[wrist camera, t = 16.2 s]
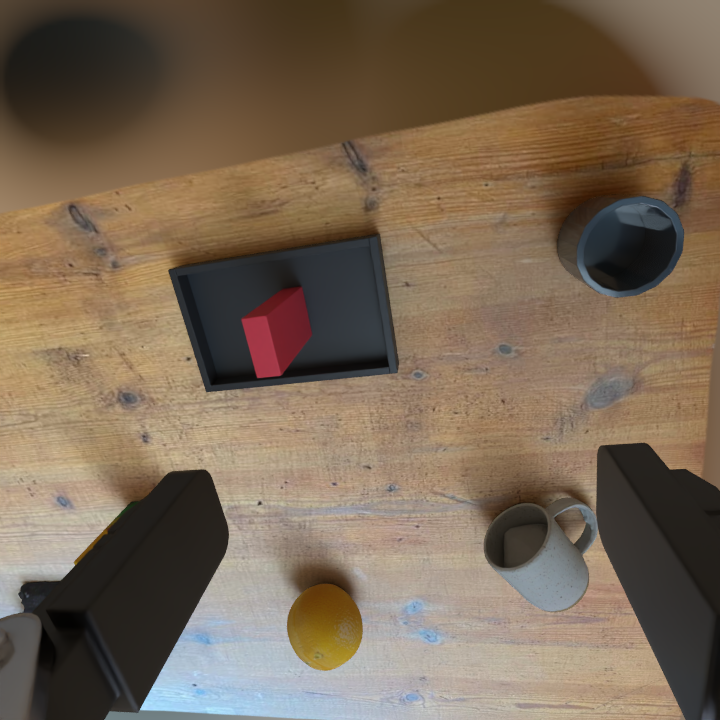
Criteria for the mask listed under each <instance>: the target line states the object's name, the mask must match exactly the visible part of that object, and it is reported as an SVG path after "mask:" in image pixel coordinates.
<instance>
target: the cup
mask: <svg viewBox="0 0 720 720" xmlns="http://www.w3.org/2000/svg"><path fill="white" fill-rule="evenodd" d="M683 241H684V229H683V227H682V224H681V222H680V219H679V217H678V214H677V213H676V212H675V211H674V210H673V209H672V208H670V207H669V206H668V205H667V204H666V203H665V202H663V201H662V200H658V199H654V198H650V197H646V196H637V195H621V194H612V195H603V196H598V197H595V198H592V199H590V200H588V201H585V202H584V203H582V204H581V205H579V206H578V207H577V208H575V209H574V210H573V211H572V212H571V213H570V215H569V216H568V217H567V218H566V220H565V222H564V223H563V225H562V227H561V229H560V232H559V236H558V242H557V249H558V255H559V258H560V261H561V263H562V265H563V266H564V268H565V269H566V270H567V271H568V272H569V273H570V274H571V275H573V276H574V277H575V278H576V279H578V280H579V281H581V282H582V283H584V284H585V285H587V286H588V287H590V288H592V289H593V290H595V291H596V292H598V293H601V294H604V295H608V296H612V297H617V298H618V297H627V296H636V295H639V294H641V293H643V292H645V291H647V290H649V289H652V288H654V287H656V286H657V285H658V284H659V283H661V282H662V281H663V280H664V279H665V278H666V277H667V276H668V275H669V274H670V273H671V272H672V270H673V269H674V268H675V266H676V264H677V262H678V260H679V258H680V256H681V254H682V251H683Z"/></svg>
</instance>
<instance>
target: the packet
mask: <svg viewBox="0 0 720 720" xmlns="http://www.w3.org/2000/svg"><path fill="white" fill-rule="evenodd" d="M241 320H242V324H243V327H244V331H245V335H246V339H247V342H248V346H249V350H250V353H251V357H252V361H253V365H254V368H255V372H256V376H257V378H263V377H273V376H281V375H282V374H283V372H284V371H285V370H286V368H287V367H288V366H289V365H290V363H291V362H292V361H293V359H294V358H295V357H296V355H297V354H298V353H299V352H300V350H301V349H302V348H303V346H304V345H305V344H306V342H307V341H308V340H309V338H310V337H311V336H312V331H311V326H310V321H309V317H308V312H307V308H306V303H305V298H304V294H303V289H302V286H300V287H293V288H286V289H282V290H280V291H279V292H278V293H276V294H275V295H273V296H272V297H271V298H269V299H268V300H267V301H265V302H264V303H262V304H261V305H260V306H258V307H257V308H256V309H254V310H253V311H251V312H250V313H249V314H247V315H246V316H244V317H243V318H242V319H241Z"/></svg>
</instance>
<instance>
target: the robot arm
mask: <svg viewBox="0 0 720 720" xmlns="http://www.w3.org/2000/svg"><path fill="white" fill-rule="evenodd" d="M596 515H597V524H598V530H599V534H600V538H601V541H602V544H603V547H604V549H605V551H606V553H607V555H608V557H609V559H610V562H611V564H612V566H613V568H614V570H615V572H616V574H617V576H618V578H619V580H620V583H621V585H622V587H623V589H624V591H625V593H626V595H627V597H628V599H629V602H630V604H631V606H632V608H633V610H634V612H635V614H636V616H637V618H638V620H639V623H640V625H641V627H642V629H643V631H644V633H645V635H646V637H647V639H648V641H649V644H650V646H651V648H652V650H653V652H654V654H655V656H656V658H657V660H658V663H659V665H660V667H661V669H662V671H663V673H664V675H665V677H666V679H667V681H668V684H669V686H670V688H671V690H672V692H673V694H674V696H675V698H676V700H677V702H678V705H679V707H680V709H681V711H682V713H683V715H684V717H685V719H686V720H720V491H719V490H718V488H717V487H715V486H713V485H712V484H710V483H708V482H706V481H705V480H703V479H702V478H700V477H698V476H696V475H695V474H693V473H691V472H689V471H688V470H686V469H676V470H670V469H669V468H668V467H667V466H666V465H665V463H664V462H663V461H662V460H661V459H660V457H659V456H658V455H657V454H656V453H655V451H654V450H653V449H652V448H651V447H650V446H649V445H648V444H647V443H633V444H617V445H602V446H600V447H599V449H598V454H597V502H596ZM228 539H229V531H228V525H227V522H226V519H225V516H224V513H223V510H222V507H221V504H220V501H219V498H218V495H217V492H216V489H215V486H214V483H213V480H212V477H211V475H210V474H209V472H208V471H206V470H186V471H172V472H170V473H168V474H167V475H166V476H165V477H164V478H163V479H162V480H161V481H160V482H159V483H158V485H157V486H156V487H155V488H154V489H153V490H152V491H151V492H150V493H149V495H148V496H147V497H145V498H144V499H142V500H141V501H139V502H138V503H137V504H135V505H134V506H132V507H131V508H130V509H128V510H127V511H125V512H124V513H123V514H122V516H121V517H120V518H119V519H118V520H117V521H116V522H115V523H114V524H113V525H112V526H111V527H110V528H109V530H108V533H107V534H104V535H103V536H102V537H101V538H100V539H99V540H98V541H97V543H96V544H95V545H94V546H93V550H89V551H88V552H87V553H86V554H85V556H84V557H83V558H82V559H81V560H80V561H79V562H78V563H77V564H76V565H75V566H74V567H73V569H72V570H71V571H70V572H69V573H68V574H67V575H66V576H65V577H64V578H63V579H62V580H61V582H60V583H59V584H58V585H57V586H56V587H55V588H54V589H53V590H52V591H51V592H50V593H49V595H48V596H47V597H46V598H45V599H44V600H43V601H42V602H41V603H40V604H39V605H38V606H37V607H36V609H35V610H34V611H33V612H32V613H18V614H13V615H10V616H6V617H4V618H1V619H0V720H104V719H105V718H106V716H107V714H108V712H109V711H117V712H136V713H138V711H139V710H140V708H141V706H142V704H143V703H144V701H145V699H146V697H147V695H148V693H149V692H150V690H151V688H152V686H153V684H154V683H155V681H156V679H157V677H158V675H159V673H160V672H161V670H162V668H163V666H164V664H165V663H166V661H167V659H168V657H169V655H170V653H171V652H172V650H173V648H174V646H175V644H176V643H177V641H178V639H179V637H180V635H181V633H182V632H183V630H184V628H185V626H186V624H187V623H188V621H189V619H190V617H191V615H192V613H193V612H194V610H195V608H196V606H197V604H198V603H199V601H200V599H201V597H202V595H203V593H204V592H205V590H206V588H207V586H208V584H209V583H210V581H211V579H212V577H213V575H214V573H215V572H216V570H217V568H218V566H219V564H220V563H221V561H222V559H223V557H224V555H225V553H226V550H227V546H228Z"/></svg>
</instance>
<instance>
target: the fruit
mask: <svg viewBox="0 0 720 720" xmlns="http://www.w3.org/2000/svg"><path fill="white" fill-rule="evenodd" d="M287 631H288V636H289V640H290V643H291V645H292V647H293V649H294V651H295V653H296V654H297V656H298V657H299V658H300V659H301V660H302V661H303V662H305V663H306V664H307V665H309V666H310V667H312V668H315V669H318V670H323V671H327V670H332V669H335V668H337V667H339V666H341V665H342V664H344V663H345V662H347V661H348V660H349V659H350V658H351V657H352V656H353V655H354V654H355V653H356V651H357V650H358V648H359V645H360V643H361V639H362V632H363V626H362V618H361V615H360V612H359V609H358V607H357V605H356V603H355V602H354V600H353V599H352V598H351V597H350V596H349V595H348V594H347V593H346V592H345V591H344V590H342V589H341V588H339V587H338V586H336V585H333V584H318V585H314V586H312V587H310V588H308V589H306V590H305V591H304V592H303V593H301V594H300V595H299V597H298V598H297V599H296V600H295V602H294V603H293V605H292V607H291V609H290V612H289V615H288V620H287Z"/></svg>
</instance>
